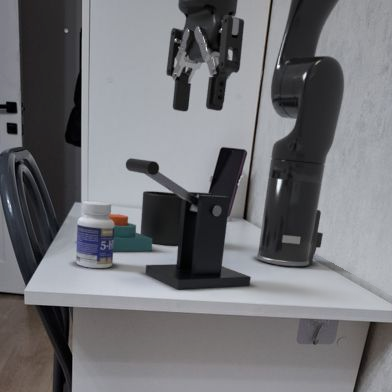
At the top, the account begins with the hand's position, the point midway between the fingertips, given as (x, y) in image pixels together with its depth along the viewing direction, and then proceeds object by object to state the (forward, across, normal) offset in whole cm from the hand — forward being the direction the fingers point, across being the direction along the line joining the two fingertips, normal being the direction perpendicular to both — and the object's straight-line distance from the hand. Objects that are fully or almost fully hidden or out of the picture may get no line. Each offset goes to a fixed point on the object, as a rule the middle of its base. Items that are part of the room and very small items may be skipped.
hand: (196, 110), depth 74 cm
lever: (+11, -5, +5) cm, 13 cm away
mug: (+22, +27, -12) cm, 37 cm away
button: (+19, +20, +1) cm, 28 cm away
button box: (+22, +20, +1) cm, 30 cm away
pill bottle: (+23, +6, +11) cm, 26 cm away
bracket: (+22, -5, 0) cm, 23 cm away
